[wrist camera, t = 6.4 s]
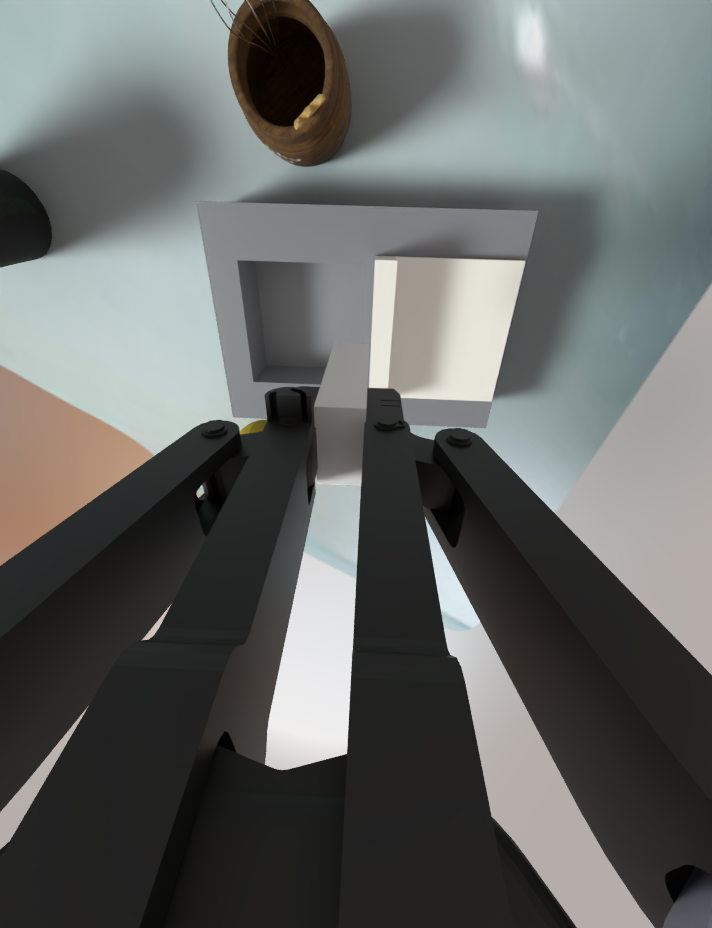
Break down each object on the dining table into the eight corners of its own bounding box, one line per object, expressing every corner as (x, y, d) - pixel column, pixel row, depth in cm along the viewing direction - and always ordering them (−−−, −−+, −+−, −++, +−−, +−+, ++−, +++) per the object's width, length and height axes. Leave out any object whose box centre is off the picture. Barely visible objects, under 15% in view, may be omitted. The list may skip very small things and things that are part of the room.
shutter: (375, 255, 23) (374, 259, 19) (522, 260, 22) (546, 265, 19) (368, 393, 27) (367, 414, 24) (489, 398, 27) (504, 420, 24)
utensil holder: (309, 7, 21) (245, -207, 10) (374, 126, 23) (372, 46, 13) (237, 95, 23) (126, -13, 13) (304, 195, 25) (256, 172, 15)
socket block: (225, 205, 26) (196, 201, 22) (511, 214, 25) (538, 210, 21) (251, 393, 33) (233, 417, 29) (471, 402, 33) (485, 428, 29)
